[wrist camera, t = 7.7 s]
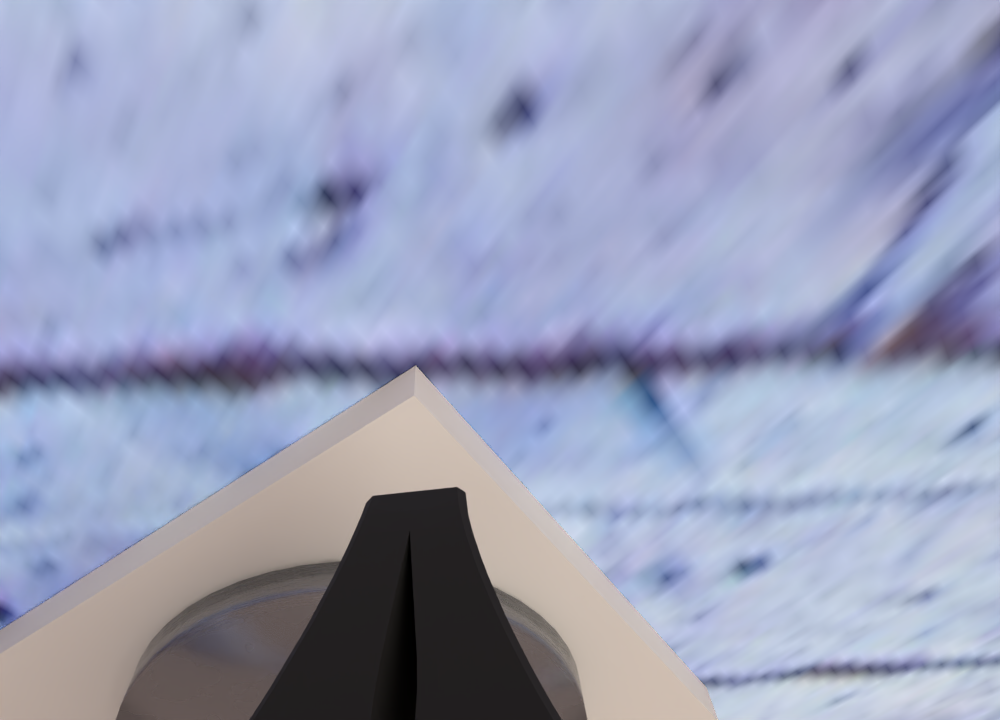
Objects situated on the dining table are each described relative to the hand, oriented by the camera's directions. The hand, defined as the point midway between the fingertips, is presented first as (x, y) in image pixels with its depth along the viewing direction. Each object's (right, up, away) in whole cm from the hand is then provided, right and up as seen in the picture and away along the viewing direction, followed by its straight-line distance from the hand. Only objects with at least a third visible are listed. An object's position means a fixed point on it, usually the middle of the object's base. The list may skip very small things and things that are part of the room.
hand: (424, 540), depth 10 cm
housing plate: (-4, -9, +16) cm, 19 cm away
